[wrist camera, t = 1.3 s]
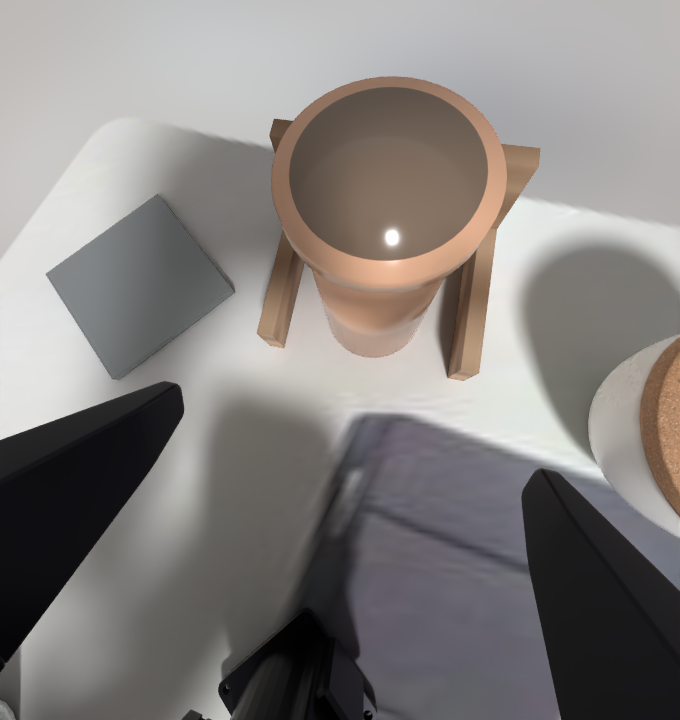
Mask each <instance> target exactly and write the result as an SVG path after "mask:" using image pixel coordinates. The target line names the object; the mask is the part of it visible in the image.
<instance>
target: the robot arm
mask: <svg viewBox="0 0 680 720" xmlns="http://www.w3.org/2000/svg"><path fill="white" fill-rule="evenodd" d="M183 414H184V403H183V396H182V390H181V387H180V386H179V385H178V384H175V383H171V382H166V381H163V382H160V383H157V384H154V385H151V386H149V387H146V388H143V389H140V390H138V391H135V392H132V393H129V394H126V395H124V396H121V397H118V398H115V399H113V400H110V401H107V402H104V403H102V404H99V405H96V406H93V407H90V408H88V409H85V410H82V411H79V412H77V413H74V414H71V415H68V416H66V417H63V418H60V419H57V420H54V421H52V422H49V423H46V424H43V425H41V426H38V427H35V428H32V429H30V430H27V431H24V432H21V433H18V434H16V435H13V436H10V437H7V438H5V439H2V440H0V672H1V671H2V670H3V668H4V667H5V663H7V662H8V661H9V660H10V658H11V657H12V656H13V654H14V653H15V652H16V650H17V649H18V648H19V646H20V645H21V644H22V642H23V641H24V640H25V638H26V637H27V635H28V634H29V633H30V631H31V630H32V629H33V627H34V626H35V625H36V623H37V622H38V621H39V619H40V618H41V617H42V615H43V614H44V613H45V611H46V610H47V609H48V607H49V606H50V605H51V603H52V602H53V600H54V599H55V598H56V596H57V595H58V594H59V592H60V591H61V590H62V588H63V587H64V586H65V584H66V583H67V582H68V580H69V579H70V578H71V576H72V575H73V574H74V572H75V571H76V570H77V568H78V567H79V565H80V564H81V563H82V561H83V560H84V559H85V557H86V556H87V555H88V553H89V552H90V551H91V549H92V548H93V547H94V545H95V544H96V543H97V541H98V540H99V539H100V537H101V536H102V534H103V533H104V532H105V530H106V529H107V528H108V526H109V525H110V524H111V522H112V521H113V520H114V518H115V517H116V516H117V514H118V513H119V512H120V510H121V509H122V508H123V506H124V505H125V504H126V502H127V501H128V499H129V498H130V497H131V495H132V494H133V493H134V491H135V490H136V489H137V487H138V486H139V485H140V483H141V482H142V481H143V479H144V478H145V477H146V475H147V474H148V472H149V471H150V470H151V468H152V467H153V465H154V464H155V462H156V461H157V459H158V457H159V456H160V454H161V452H162V451H163V449H164V447H165V446H166V444H167V442H168V441H169V439H170V437H171V436H172V434H173V432H174V430H175V429H176V427H177V425H178V424H179V422H180V420H181V419H182V417H183ZM521 499H522V510H523V519H524V529H525V539H526V549H527V557H528V565H529V570H530V575H531V580H532V585H533V590H534V594H535V599H536V604H537V608H538V613H539V618H540V622H541V627H542V632H543V636H544V641H545V646H546V651H547V655H548V660H549V665H550V669H551V674H552V679H553V683H554V688H555V693H556V697H557V702H558V707H559V711H560V716H561V720H680V591H679V590H678V589H677V588H676V587H675V586H674V585H673V584H672V583H671V582H670V581H669V580H668V579H667V578H666V577H665V576H664V575H663V574H662V573H661V572H660V571H659V570H658V569H657V568H656V567H655V566H654V565H653V564H652V563H651V562H650V561H649V560H648V559H647V558H646V557H644V556H643V555H642V554H641V553H640V552H639V551H638V550H637V549H636V548H635V547H634V546H633V545H632V544H631V543H630V542H629V541H628V540H627V539H626V538H625V537H624V536H623V535H622V534H621V533H620V532H619V531H618V530H617V529H616V528H615V527H614V526H613V525H612V524H611V523H610V522H609V521H608V520H607V519H606V518H605V517H604V516H603V515H602V514H601V513H600V512H599V511H597V510H596V509H595V508H594V507H593V506H592V505H591V504H590V503H589V502H588V501H587V500H586V499H585V498H584V497H583V496H582V495H581V494H580V493H579V492H578V491H577V490H576V489H575V488H574V487H573V486H572V485H571V484H570V483H569V482H568V481H567V480H566V479H565V478H564V477H563V476H562V475H561V474H559V473H558V472H556V471H552V470H548V469H544V468H538V469H537V470H535V472H534V473H533V475H532V476H531V478H530V480H529V481H528V483H527V484H526V486H525V487H524V489H523V492H522V498H521ZM303 617H308V618H309V620H310V622H308V623H305V622H304V621H303V619H302V618H303ZM226 684H228V685H230V686H231V690H229V689H227V688H226V686H225V685H226ZM218 693H219V696H220V697H221V699H222V701H223V703H224V704H225V706H226V708H227V710H228V711H229V713H230V715H231V718H230V720H377V707H376V705H375V703H374V701H373V700H372V698H371V697H370V695H369V694H368V692H367V691H366V689H365V688H364V680H363V677H362V675H361V674H360V672H359V671H358V670H357V668H356V667H355V665H354V664H353V662H352V661H351V659H350V658H349V656H348V655H347V653H346V652H345V650H344V649H343V647H342V646H341V644H340V643H339V641H338V640H337V639H336V638H334V637H330V636H329V634H328V633H327V631H326V630H325V628H324V627H323V625H322V624H321V622H320V621H319V619H318V618H317V616H316V615H315V613H314V612H313V611H312V610H311V609H309V608H304V609H302V610H301V611H300V612H299V613H297V614H296V615H295V616H294V617H293V618H292V619H290V620H289V621H288V622H287V623H286V624H285V625H283V626H282V627H281V628H280V629H279V630H278V631H277V632H275V633H274V634H273V635H272V636H271V637H270V638H268V639H267V640H266V641H265V642H264V643H263V644H261V645H260V646H259V647H258V648H257V649H256V650H254V651H253V652H252V653H251V654H250V655H249V656H247V657H246V658H245V659H244V660H243V661H242V662H241V663H239V664H238V665H237V666H236V667H235V668H234V669H232V670H231V671H230V672H229V673H228V674H227V675H225V676H224V678H223V679H222V681H221V682H220V684H219V687H218ZM366 710H369V711H371V712H372V714H371V715H369V716H368V715H366V714H364V712H365V711H366ZM182 720H205V719H203V718H202V714H200V713H198V712H196V711H194V710H190V711H189V712H188V713H187V714H186V715H185V716H184V718H183V719H182ZM207 720H211V719H209V718H208V719H207Z"/></svg>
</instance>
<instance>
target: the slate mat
mask: <svg viewBox="0 0 680 720" xmlns="http://www.w3.org/2000/svg"><path fill="white" fill-rule="evenodd" d="M46 276H47V277H48V279H49V280H50V282H51V284H52V285H53V287H54V288H55V290H56V291H57V293H58V295H59V296H60V298H61V299H62V301H63V302H64V304H65V305H66V307H67V309H68V310H69V312H70V313H71V315H72V316H73V318H74V320H75V321H76V323H77V324H78V326H79V327H80V329H81V331H82V332H83V334H84V335H85V337H86V338H87V340H88V342H89V343H90V345H91V346H92V348H93V349H94V351H95V352H96V354H97V356H98V357H99V359H100V360H101V362H102V363H103V365H104V367H105V368H106V370H107V371H108V373H109V374H110V376H111V378H112V379H115V380H120V379H121V378H122V377H124V376H125V375H126V374H128V373H129V372H130V371H132V370H133V369H134V368H136V367H137V366H138V365H140V364H141V363H142V362H144V361H145V360H146V359H147V358H149V357H150V356H151V355H153V354H154V353H155V352H157V351H158V350H159V349H161V348H162V347H163V346H165V345H166V344H167V343H169V342H170V341H171V340H173V339H174V338H175V337H177V336H178V335H179V334H181V333H182V332H183V331H185V330H186V329H187V328H188V327H190V326H191V325H192V324H194V323H195V322H196V321H198V320H199V319H200V318H202V317H203V316H204V315H206V314H207V313H208V312H210V311H211V310H212V309H214V308H215V307H216V306H218V305H219V304H220V303H222V302H223V301H224V300H226V299H227V298H228V297H229V296H231V295H232V294H233V293H235V292H234V290H233V289H232V288H231V286H230V285H229V284H228V283H227V281H226V280H225V279H224V277H223V276H222V275H221V274H220V272H219V271H218V270H217V269H216V267H215V266H214V265H213V263H212V262H211V261H210V260H209V258H208V257H207V256H206V255H205V253H204V252H203V251H202V249H201V248H200V247H199V246H198V244H197V243H196V242H195V240H194V239H193V238H192V237H191V235H190V234H189V233H188V232H187V230H186V229H185V228H184V226H183V225H182V224H181V223H180V221H179V220H178V219H177V218H176V216H175V215H174V214H173V212H172V211H171V210H170V209H169V207H168V206H167V205H166V203H165V202H164V201H163V200H162V198H161V197H160V196H159V195H158V194H157V195H155V196H154V197H153V198H151V199H150V200H148V201H147V202H146V203H144V204H143V205H141V206H140V207H139V208H137V209H136V210H134V211H133V212H132V213H130V214H129V215H127V216H126V217H125V218H123V219H122V220H120V221H119V222H118V223H116V224H115V225H113V226H112V227H111V228H109V229H108V230H106V231H105V232H104V233H102V234H101V235H99V236H98V237H97V238H95V239H94V240H92V241H91V242H90V243H88V244H87V245H85V246H84V247H83V248H81V249H80V250H78V251H77V252H76V253H74V254H73V255H71V256H70V257H69V258H67V259H66V260H64V261H63V262H62V263H60V264H59V265H57V266H56V267H55V268H53V269H52V270H50V271H49V272H48V273H46Z"/></svg>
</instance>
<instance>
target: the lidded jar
mask: <svg viewBox="0 0 680 720" xmlns="http://www.w3.org/2000/svg"><path fill="white" fill-rule="evenodd" d="M588 434H589V440H590V445H591V449H592V452H593V455H594V457H595V460H596V462H597V464H598V466H599V468H600V470H601V472H602V473H603V475H604V477H605V478H606V480H607V481H608V482H609V484H610V485H611V486H612V488H613V489H614V490H615V491H616V492H617V493H618V494H619V495H620V496H621V497H622V498H623V499H624V500H625V501H626V502H627V503H628V504H629V505H630V506H631V507H632V508H634V509H635V510H636V511H637V512H639V513H640V514H641V515H643V516H644V517H645V518H647V519H648V520H650V521H651V522H653V523H654V524H656V525H657V526H659V527H661V528H662V529H664V530H666V531H668V532H669V533H671V534H673V535H674V536H676V537H678V538H680V334H677V335H674V336H672V337H669V338H667V339H664V340H662V341H659V342H657V343H655V344H653V345H651V346H649V347H647V348H644V349H642V350H641V351H639V352H638V353H636V354H635V355H633V356H631V357H630V358H628V359H627V360H625V361H624V362H622V363H621V364H620V365H618V366H617V367H616V368H615V369H614V370H613V371H612V372H611V373H610V374H609V375H608V376H607V377H606V379H605V380H604V381H603V383H602V384H601V385H600V387H599V388H598V390H597V392H596V394H595V396H594V398H593V401H592V405H591V408H590V412H589V420H588Z"/></svg>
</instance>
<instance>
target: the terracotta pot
mask: <svg viewBox="0 0 680 720" xmlns="http://www.w3.org/2000/svg"><path fill="white" fill-rule="evenodd" d="M506 182H507V170H506V161H505V156H504V152H503V148H502V146H501V143H500V141H499V138H498V136H497V134H496V133H495V131H494V129H493V127H492V126H491V124H490V123H489V122H488V120H487V119H486V118H485V117H484V115H483V114H482V113H480V111H479V110H478V109H477V108H476V107H474V105H472V104H471V103H470V102H468V101H467V100H466V99H465V98H463V97H462V96H460V95H458V94H456V93H455V92H453V91H451V90H449V89H447V88H445V87H442V86H440V85H438V84H434V83H431V82H428V81H425V80H420V79H414V78H408V77H377V78H369V79H364V80H360V81H356V82H352V83H350V84H347V85H344V86H341V87H339V88H337V89H335V90H333V91H331V92H328V93H327V94H325V95H323V96H322V97H320V98H319V99H317V100H315V101H314V102H313V103H312V104H310V105H309V106H308V107H307V108H306V109H304V110H303V111H302V112H301V113H300V114H299V115H298V116H297V118H296V119H295V120H294V121H293V122H292V124H291V125H290V126H289V128H288V129H287V130H286V132H285V134H284V136H283V137H282V139H281V141H280V143H279V146H278V148H277V151H276V153H275V157H274V161H273V165H272V175H271V187H272V196H273V201H274V205H275V208H276V211H277V213H278V216H279V219H280V221H281V224H282V226H283V229H284V232H285V234H286V236H287V238H288V240H289V242H290V244H291V246H292V247H293V249H294V250H295V251H296V253H297V254H298V255H299V257H300V258H301V259H302V260H303V261H304V262H305V263H306V264H307V265H308V266H309V267H310V268H311V269H312V272H313V275H314V278H315V281H316V284H317V288H318V291H319V294H320V297H321V300H322V303H323V307H324V310H325V313H326V316H327V319H328V322H329V326H330V328H331V331H332V333H333V335H334V337H335V338H336V340H337V341H338V342H339V343H340V344H341V345H342V346H343V347H344V348H346V349H347V350H348V351H350V352H352V353H354V354H356V355H359V356H363V357H370V358H377V357H384V356H388V355H390V354H393V353H395V352H397V351H399V350H400V349H401V348H403V347H404V346H405V345H406V344H407V343H408V342H409V341H410V340H411V338H412V337H413V335H414V333H415V332H416V330H417V328H418V326H419V324H420V322H421V320H422V319H423V317H424V315H425V313H426V311H427V309H428V307H429V306H430V304H431V302H432V300H433V298H434V296H435V294H436V293H437V291H438V289H439V287H440V285H441V283H442V281H443V280H444V278H445V277H447V276H448V275H450V274H451V273H452V272H454V271H455V270H457V269H458V268H459V267H460V266H461V265H463V264H464V263H465V262H466V261H467V260H468V259H469V258H470V257H471V255H472V254H473V253H474V252H475V251H476V249H477V248H478V247H479V245H480V243H481V242H482V240H483V239H484V237H485V236H486V234H487V232H488V231H489V229H490V228H491V226H492V224H493V223H494V221H495V219H496V218H497V215H498V213H499V211H500V208H501V206H502V203H503V199H504V195H505V191H506Z"/></svg>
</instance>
